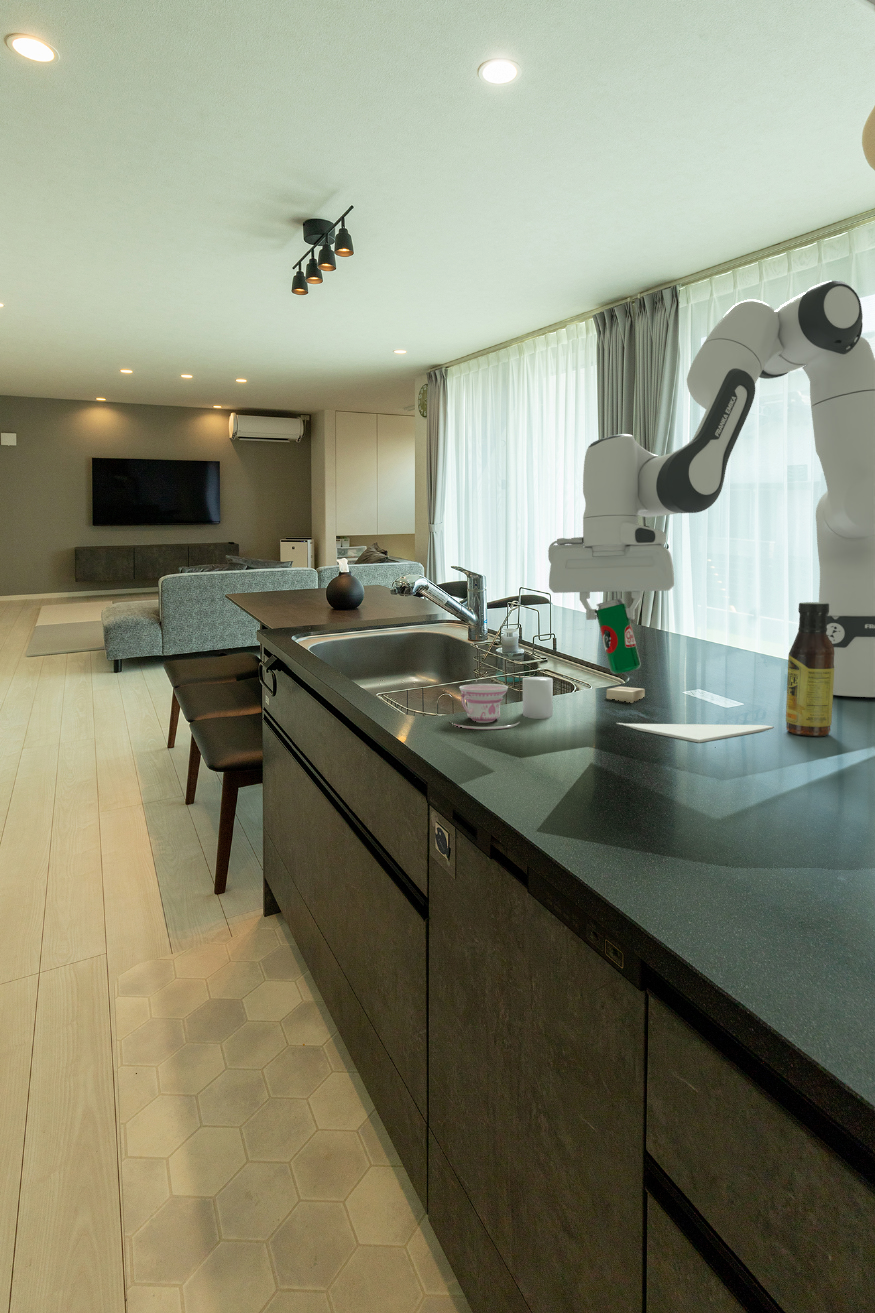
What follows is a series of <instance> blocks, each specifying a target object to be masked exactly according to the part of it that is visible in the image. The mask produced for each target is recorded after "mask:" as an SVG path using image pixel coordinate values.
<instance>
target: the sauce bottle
mask: <svg viewBox="0 0 875 1313" xmlns="http://www.w3.org/2000/svg"><path fill="white" fill-rule="evenodd" d="M798 613H799V620H798V622H799V623H798V625H799V626H798V630H797V634H796V635H795V639H794V641H793V643H792V645H791V647H790V650H789V652H788V660H787V661H788V662H787V678H786V679H787V680H786V683H787V684H786V685H787V686H786V700H785V702H786V704H785V705H786V706H785V707H786V708H785V722H786V723H785V724H786V725H785V728H786V730H787V732H789V733H791V734H792V735H795V736H797V735H799V736H806V737H824V736H828V735H829V734H830V732H831V726H832V720H833V718H832V717H833V704H834V703H833V701H834V695H833V685H834V647H833V644H832V641H830V639H829V637H828V636H827V634H826V632H827V615H828V614H829V603H823V602H819V601H818V602H817V601H816V602H813V601H810V602H809V601H807V602H799V603H798Z"/></svg>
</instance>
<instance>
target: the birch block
mask: <svg viewBox="0 0 875 1313" xmlns="http://www.w3.org/2000/svg"><path fill="white" fill-rule="evenodd" d="M645 694H646V690H645V688H639V687H628V686H615V687H611V688H607V689H606V699H607V700H612V699H615V700H614V701H618V700H619V701H618V702H624V701H626V702H625V703H629V702H630V703H631V704H633V703H635V702H637V701H640V700H642V699H644V698H645V696H646V695H645ZM643 697H644V698H643ZM639 699H640V700H639ZM634 701H635V702H634ZM630 703H629V704H630Z"/></svg>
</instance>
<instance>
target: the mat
mask: <svg viewBox="0 0 875 1313" xmlns="http://www.w3.org/2000/svg"><path fill="white" fill-rule="evenodd" d="M616 725H620V726H624V727H627V728H631V729H634V730H636V731H641V732H646V733H650V734H655V735H658V736H659V735H660V736H665V737H669V738H675V739H680V740H685V741H690V742H695V743H703V742H704V743H705V742H711V741H716V740H720V739H721V740H722V739H726V738H727V739H728V738H732V737H739V736H744V735H749V734H755V733H761V732H764V731H768V730H770V729H773V728H774V726H771V725H765V724H703V723H702V724H698V723H697V724H694V723H692V724H691V723H690V724H688V723H687V724H685V723H678V724H677V723H623V722H616Z"/></svg>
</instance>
